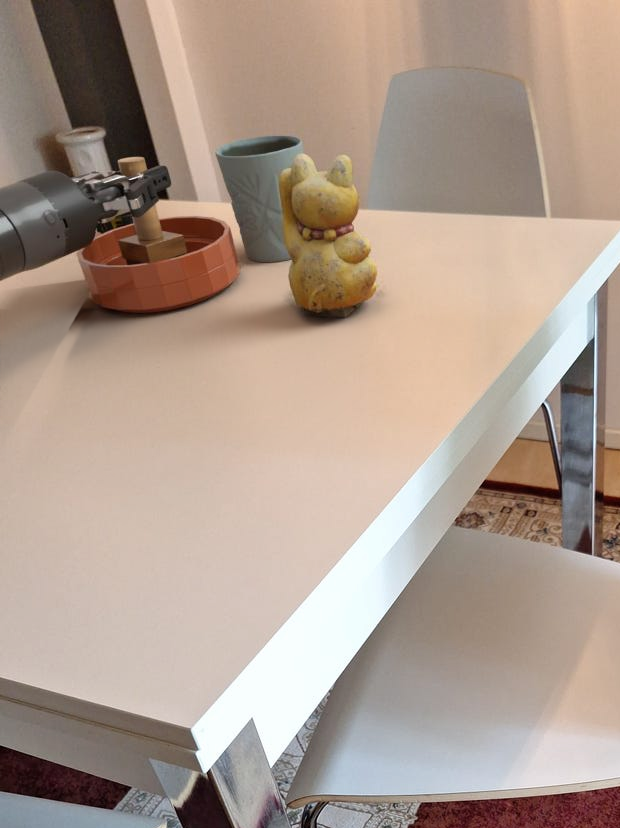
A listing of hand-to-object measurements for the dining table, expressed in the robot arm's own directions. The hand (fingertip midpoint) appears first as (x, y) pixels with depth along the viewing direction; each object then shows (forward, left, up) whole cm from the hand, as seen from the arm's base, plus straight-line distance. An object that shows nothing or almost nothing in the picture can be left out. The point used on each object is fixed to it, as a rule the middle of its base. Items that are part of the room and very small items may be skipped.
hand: (155, 174), depth 103 cm
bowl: (-2, -2, -12) cm, 12 cm away
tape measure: (-11, +22, -12) cm, 27 cm away
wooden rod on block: (-2, -3, -10) cm, 10 cm away
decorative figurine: (+18, -16, -12) cm, 27 cm away
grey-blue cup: (+11, +7, -12) cm, 18 cm away
